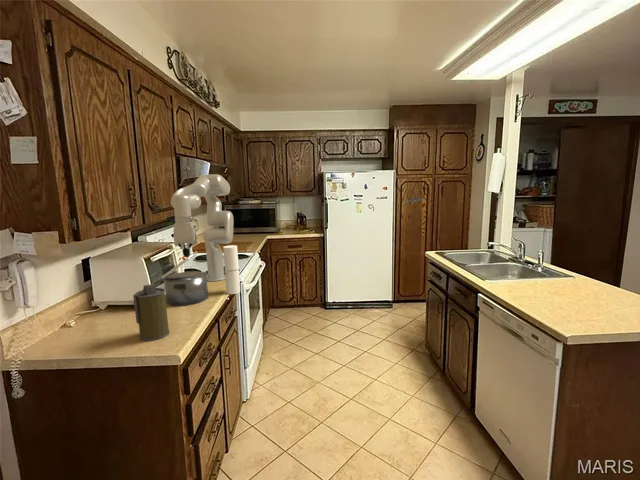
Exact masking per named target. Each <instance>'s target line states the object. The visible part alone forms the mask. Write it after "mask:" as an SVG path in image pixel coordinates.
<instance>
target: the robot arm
mask: <svg viewBox="0 0 640 480" xmlns="http://www.w3.org/2000/svg"><path fill="white" fill-rule="evenodd" d="M230 193H231V186H230V183H229V182H228V181H227V180H226V179H225V177H223V176H222V175H220V174H217V173H214V174H211V173H210V174H201V175H200V176H198V177H197V178H196V180H195V181H193V183H192V184H188V185H186V186H184V187H181V188H179V189H178V190H176V191H175V192H174V193H173V195H172V196H171V198H170V204H171V206H172V208H173V212H174V221H175V222H174V224H173V242H174V243H173V244H174V246H176V247H179V248H181V249H182V256H185V257H186V258H187V257H189V256H190V255H191V248H192V246H195V245H197V244H198V243H197V239H198V237H197V231H196V227H195V222H193V221H195V220H196V218H195V217H193V216H192V210H196V209H198V208H199V207H201V204H202V199H201V198H203V197H204V198H205V201H206V204H207V205H206V206H207V207H206V208H207V210H206V223H207V225H208V226H209V228H207V229H205V230H204V231H203V234H202V237H203V242H204V245H205V253H206V265H207V282H217V281H218V282H219V281H223V280H226V278H225V265H224V251H223V248H222V247H221V246H220V245H221V244H222V245H223V244H228V245H229V244H231V243H232V242H233V239H234V221H235V220H234V215H233V213H232V211H230V210H222V205H223V204H222V202H221V199H220V198H219V197H217V196H227V195H229V194H230ZM210 227H211V228H210ZM219 227H220V228H219Z"/></svg>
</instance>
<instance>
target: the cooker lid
mask: <svg viewBox="0 0 640 480" xmlns="http://www.w3.org/2000/svg"><path fill="white" fill-rule="evenodd" d="M197 254H198V251H197V250H196V251H194V252H192V253H190V255H189V257H185V256H184V255H182V257H181V259H182V261H180V262H179V263H178V264H176V265H175V264H174V263H173V264H171V265H169V266H168V268H166V269H165V270H164V271H162V272H163V273H164V274H163V275H162V276H161V279H162V280H164V278H165V277H167V276H169V275H172V274H173V272H175V271H177V270H178V268H180V267H181V266H183V265H184V264H186V263H187V262H188V261H189V260H190V259H192V258H193V257H194V256H195V255H197Z"/></svg>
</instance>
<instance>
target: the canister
mask: <svg viewBox="0 0 640 480" xmlns="http://www.w3.org/2000/svg"><path fill="white" fill-rule="evenodd" d="M133 305H134V312H135V313H134V314H135V321H136V324H138V329H139V340H140V341H144V342H151V341H152V342H153V341H157V340H160V339H163V338H165V337H168V335H169V334H170V328H169V319H168V313H167V312H168V311H167V303H166V293H165V288H161V287H158V284H157V283H150V284H145V285H143V288H142V290H139V291H137V292H135V293H134V294H133Z"/></svg>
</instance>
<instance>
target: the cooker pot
mask: <svg viewBox="0 0 640 480" xmlns="http://www.w3.org/2000/svg"><path fill="white" fill-rule="evenodd" d="M207 276H208V274H207V273H206V272H204V271H199V270H196V271H183V272H177V273H171V274H169V275H168V276H167V277H165V278H164V279H163V281H164V282H163V283H164V289H165V299H166V305H169V306H172V307H185V306H192V305H197V304H199V303H202V302H205V301H206V300H208V299H209V289H208V281H207Z"/></svg>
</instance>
